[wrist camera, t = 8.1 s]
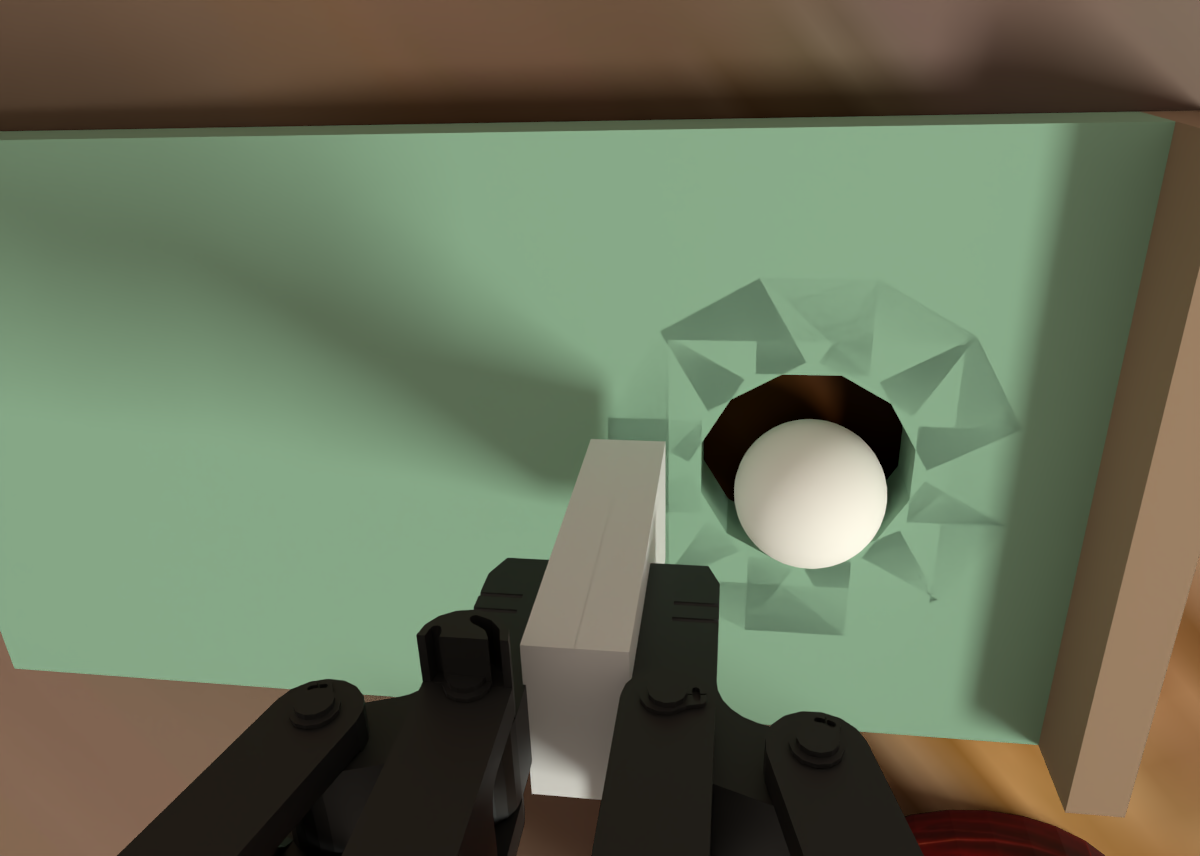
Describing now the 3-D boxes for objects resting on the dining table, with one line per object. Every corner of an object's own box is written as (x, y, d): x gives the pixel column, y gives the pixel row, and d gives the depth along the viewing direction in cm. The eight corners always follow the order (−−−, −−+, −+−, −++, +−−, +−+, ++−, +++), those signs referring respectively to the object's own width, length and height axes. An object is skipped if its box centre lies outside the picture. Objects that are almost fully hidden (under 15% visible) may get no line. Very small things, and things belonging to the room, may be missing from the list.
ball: (909, 569, 20) (844, 462, 22) (922, 479, 17) (848, 370, 20) (770, 615, 20) (718, 504, 22) (763, 532, 17) (707, 415, 19)
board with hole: (53, 632, 27) (-42, 719, 23) (-119, 133, 21) (-276, 157, 18) (1070, 702, 23) (1125, 817, 20) (1208, 110, 17) (1318, 136, 14)
